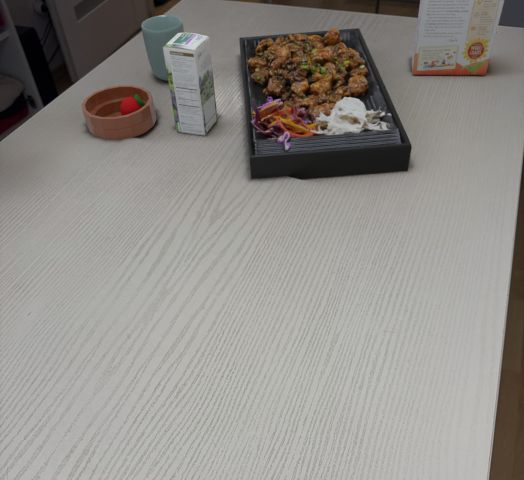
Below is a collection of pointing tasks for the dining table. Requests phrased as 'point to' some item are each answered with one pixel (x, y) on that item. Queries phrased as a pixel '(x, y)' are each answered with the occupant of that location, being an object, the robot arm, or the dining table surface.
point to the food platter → (318, 107)
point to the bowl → (118, 113)
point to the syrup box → (191, 82)
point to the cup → (159, 40)
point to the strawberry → (131, 105)
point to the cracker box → (455, 36)
